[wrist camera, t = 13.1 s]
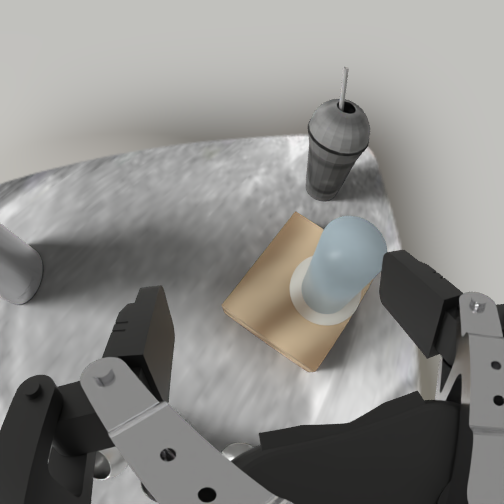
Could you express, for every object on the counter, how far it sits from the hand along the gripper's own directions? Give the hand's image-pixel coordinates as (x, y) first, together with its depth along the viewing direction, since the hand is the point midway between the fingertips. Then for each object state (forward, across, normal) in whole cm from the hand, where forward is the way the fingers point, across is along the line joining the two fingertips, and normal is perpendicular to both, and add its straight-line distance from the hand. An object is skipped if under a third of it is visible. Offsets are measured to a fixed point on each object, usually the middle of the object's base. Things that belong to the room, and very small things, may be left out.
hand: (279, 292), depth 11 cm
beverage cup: (+33, -13, +4) cm, 35 cm away
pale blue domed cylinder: (+18, -8, +12) cm, 23 cm away
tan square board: (+22, -6, +15) cm, 27 cm away
